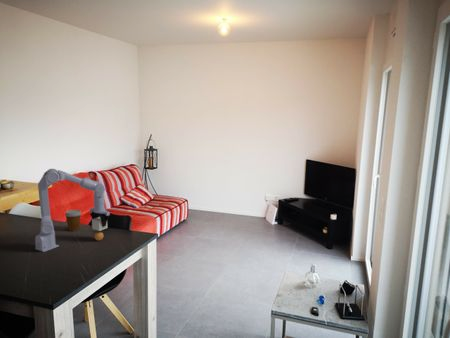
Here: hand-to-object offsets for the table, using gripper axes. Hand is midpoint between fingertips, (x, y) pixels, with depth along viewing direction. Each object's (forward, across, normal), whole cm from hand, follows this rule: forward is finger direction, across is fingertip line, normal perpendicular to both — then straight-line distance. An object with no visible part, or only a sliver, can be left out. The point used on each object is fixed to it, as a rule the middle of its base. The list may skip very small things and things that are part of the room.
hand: (100, 225), depth 205 cm
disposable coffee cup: (+9, +27, -2) cm, 29 cm away
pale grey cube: (+2, 0, 0) cm, 2 cm away
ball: (+6, 0, +1) cm, 7 cm away
